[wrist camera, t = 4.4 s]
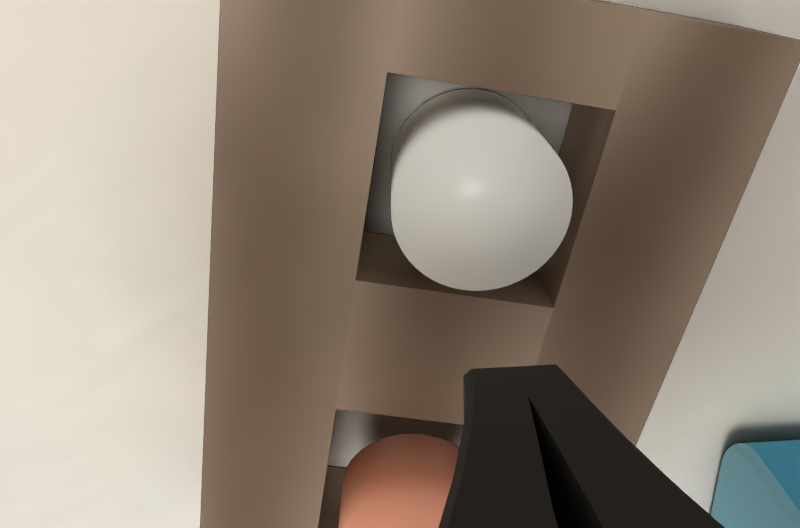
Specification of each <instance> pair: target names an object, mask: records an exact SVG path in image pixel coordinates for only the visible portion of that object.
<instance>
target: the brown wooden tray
mask: <svg viewBox="0 0 800 528" xmlns="http://www.w3.org/2000/svg"><path fill="white" fill-rule="evenodd" d="M799 63H800V40H797V39H793V38H789V37H784V36H780V35H776V34H771V33H767V32H763V31H758V30H754V29H750V28H745V27H741V26H737V25H731V24H726V23H720V22H715V21H709V20H704V19H698V18H693V17H687V16H682V15H676V14H671V13H665V12H660V11H654V10H649V9H644V8H638V7H633V6H627V5H622V4H616V3H611V2H605V1H600V0H220V17H219V43H218V70H217V96H216V122H215V148H214V175H213V201H212V227H211V254H210V280H209V306H208V332H207V359H206V385H205V411H204V438H203V464H202V490H201V516H200V528H338V526H339V515H340V504H341V493H342V482H343V476H344V473H345V470H346V468H337V467H328V466H327V464H328V458H329V451H330V445H331V438H332V431H333V425H334V418H335V412H336V409H338V410H347V411H355V412H363V413H371V414H379V415H387V416H396V417H404V418H412V419H420V420H428V421H436V422H445V423H453V424H461V425H464V400H463V376H464V375H465V374H466V373H467V372H468V371H469V370H470V369H476V368H495V367H515V366H534V365H553V364H556V365H557V366H558V367H560V368H561V369H562V370H563V371H564V372H565V373H566V374H567V376H568V377H569V378H570V379H571V380H572V381H573V382H574V383H575V384H576V385H577V386H578V387H579V389H580V390H581V391H582V392H583V393H584V394H585V395H586V396H587V397H588V398H589V399H590V400H591V401H592V402H593V404H594V405H595V406H596V407H597V408H598V409H599V410H600V411H601V412H602V413H603V414H604V415H605V416H606V417H607V418H608V419H609V420H610V421H611V422H612V423H613V424H614V425H615V427H616V428H617V429H618V430H619V431H620V432H621V433H622V434H623V435H624V436H625V437H626V438H627V439H628V440H629V441H630V442H631V443H632V444H634V445H635V446H636V444H637V441H638V439H639V437H640V434H641V432H642V430H643V427H644V425H645V423H646V420H647V418H648V416H649V413H650V411H651V409H652V406H653V404H654V402H655V399H656V397H657V395H658V392H659V390H660V388H661V385H662V383H663V381H664V378H665V376H666V374H667V371H668V369H669V367H670V364H671V362H672V360H673V357H674V355H675V353H676V350H677V348H678V346H679V343H680V341H681V339H682V336H683V334H684V331H685V329H686V327H687V324H688V322H689V320H690V317H691V315H692V313H693V310H694V308H695V306H696V303H697V301H698V299H699V296H700V294H701V292H702V289H703V287H704V285H705V282H706V280H707V278H708V275H709V273H710V271H711V268H712V266H713V264H714V261H715V259H716V257H717V254H718V252H719V250H720V247H721V245H722V243H723V240H724V238H725V236H726V233H727V231H728V229H729V226H730V224H731V222H732V219H733V217H734V215H735V212H736V210H737V208H738V205H739V203H740V201H741V198H742V196H743V193H744V191H745V189H746V186H747V184H748V182H749V179H750V177H751V175H752V172H753V170H754V168H755V165H756V163H757V161H758V158H759V156H760V154H761V151H762V149H763V147H764V144H765V142H766V140H767V137H768V135H769V133H770V130H771V128H772V126H773V123H774V121H775V119H776V116H777V114H778V112H779V109H780V107H781V105H782V102H783V100H784V98H785V95H786V93H787V91H788V88H789V86H790V84H791V81H792V79H793V77H794V74H795V72H796V70H797V67H798V65H799ZM387 72H390V73H396V74H402V75H408V76H414V77H420V78H426V79H432V80H438V81H444V82H450V83H456V84H462V85H468V86H474V87H480V88H486V89H492V90H497V91H503V92H509V93H515V94H521V95H527V96H533V97H539V98H545V99H551V100H557V101H563V102H569V103H574V105H573V108H572V112H571V115H570V119H569V122H568V126H567V129H566V133H565V136H564V140H563V143H562V147H561V150H560V154H559V158H560V159H561V161H562V163H563V164H564V166H565V168H566V170H567V173H568V176H569V179H570V183H571V188H572V197H573V205H572V215H571V219H570V223H569V226H568V229H567V232H566V234H565V236H564V238H563V240H562V242H561V244H560V246H559V247H558V248H557V250H556V251H555V253H554V254H553V255H552V256H551V257H550V258H549V260H548V261H547V262H546V263H545V264H544V265H542V266H541V267H540V268H539V269H538V270H536V271H535V272H534V273H532V274H531V275H529V276H528V277H526V278H524V279H522V280H520V281H518V282H516V283H513V284H511V285H508V286H505V287H501V288H497V289H492V290H484V291H470V290H461V289H456V288H451V287H448V286H445V285H442V284H440V283H438V282H436V281H434V280H432V279H430V278H429V277H427V276H425V275H424V274H422V273H421V272H420V271H419V270H418V269H416V268H415V267H414V266H413V265H412V263H411V262H410V261H409V260H408V259H407V258H406V256H405V255H404V253H403V252H402V250H401V248H400V246H399V244H398V242H397V240H396V237H395V236H391V235H384V234H377V233H370V232H363V228H364V222H365V215H366V209H367V202H368V195H369V189H370V182H371V176H372V169H373V163H374V156H375V150H376V143H377V136H378V130H379V123H380V117H381V110H382V104H383V97H384V91H385V84H386V77H387Z"/></svg>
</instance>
